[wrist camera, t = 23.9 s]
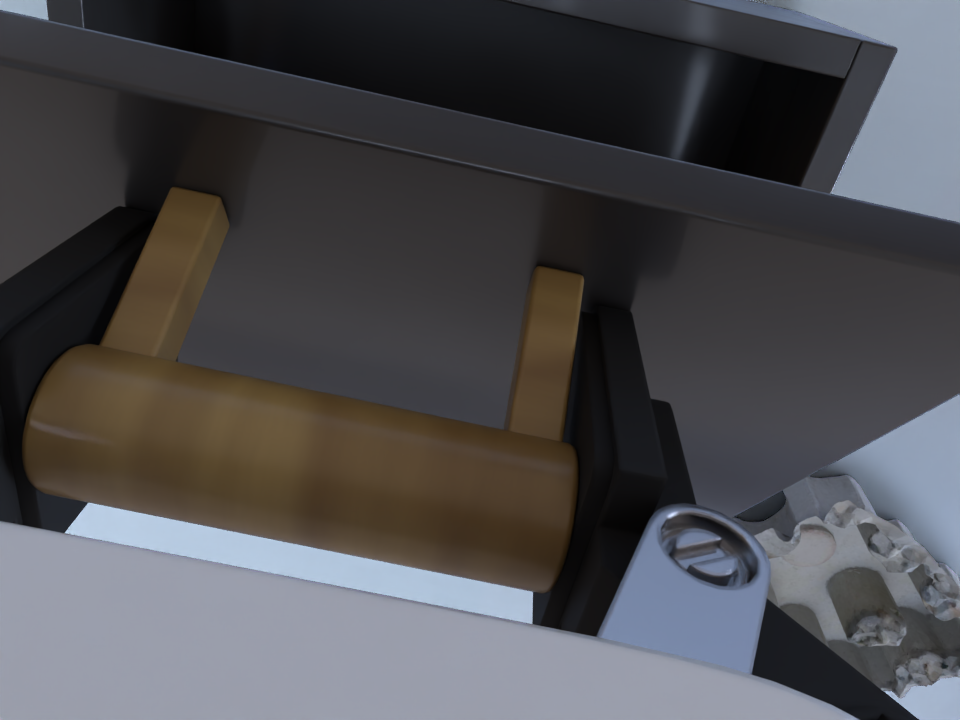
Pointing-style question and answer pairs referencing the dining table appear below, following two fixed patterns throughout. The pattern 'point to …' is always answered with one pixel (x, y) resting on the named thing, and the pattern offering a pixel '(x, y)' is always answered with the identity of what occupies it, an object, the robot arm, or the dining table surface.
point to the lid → (431, 308)
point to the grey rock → (862, 584)
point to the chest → (562, 67)
